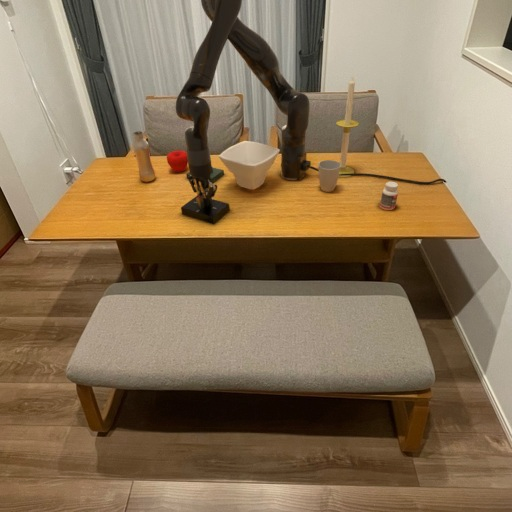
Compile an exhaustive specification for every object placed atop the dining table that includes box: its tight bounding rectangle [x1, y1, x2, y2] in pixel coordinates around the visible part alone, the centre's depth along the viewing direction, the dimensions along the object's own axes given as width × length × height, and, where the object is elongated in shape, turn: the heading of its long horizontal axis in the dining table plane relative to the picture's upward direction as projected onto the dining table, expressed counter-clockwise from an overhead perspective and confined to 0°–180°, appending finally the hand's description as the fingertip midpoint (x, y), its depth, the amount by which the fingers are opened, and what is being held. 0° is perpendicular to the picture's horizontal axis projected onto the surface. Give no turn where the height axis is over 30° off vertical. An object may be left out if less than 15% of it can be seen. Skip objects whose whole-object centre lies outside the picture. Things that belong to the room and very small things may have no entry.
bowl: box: [218, 140, 281, 191], centre depth 150 cm, size 19×19×14 cm
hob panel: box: [180, 194, 231, 225], centre depth 138 cm, size 14×10×3 cm
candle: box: [335, 75, 360, 178], centre depth 149 cm, size 10×10×38 cm
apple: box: [166, 150, 188, 173], centre depth 165 cm, size 9×9×8 cm
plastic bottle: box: [132, 130, 156, 183], centre depth 155 cm, size 6×7×20 cm
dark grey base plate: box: [185, 166, 225, 184], centre depth 160 cm, size 12×10×4 cm
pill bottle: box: [379, 181, 399, 211], centre depth 135 cm, size 5×5×9 cm
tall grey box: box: [196, 192, 213, 209], centre depth 136 cm, size 6×2×4 cm, turn 136°
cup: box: [317, 159, 341, 193], centre depth 147 cm, size 8×8×10 cm
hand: (205, 205), depth 137 cm, fingers closed, pressing on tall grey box
